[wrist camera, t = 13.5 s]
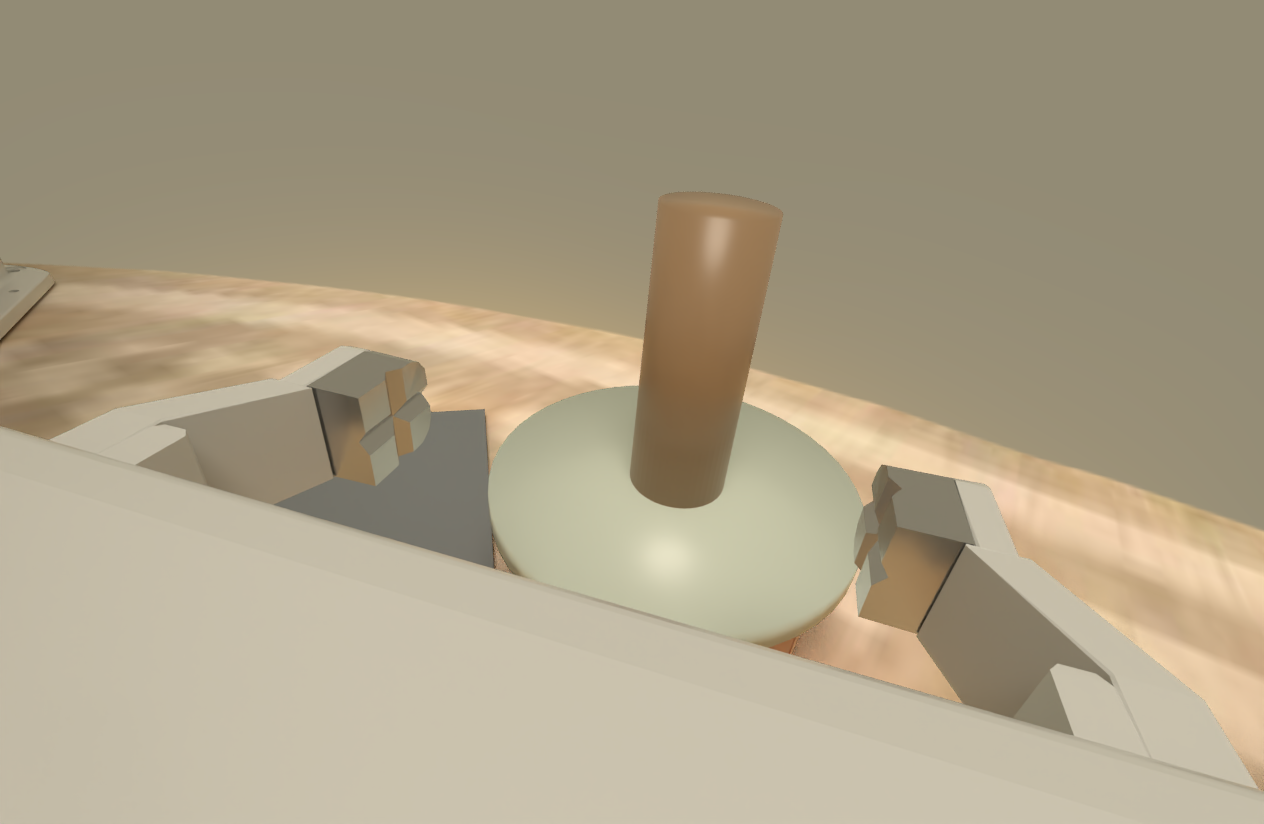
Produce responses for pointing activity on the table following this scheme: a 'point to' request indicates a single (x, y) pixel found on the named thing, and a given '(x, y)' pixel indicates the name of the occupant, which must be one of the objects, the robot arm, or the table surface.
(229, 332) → the table surface
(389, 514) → the mat
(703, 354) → the lid
